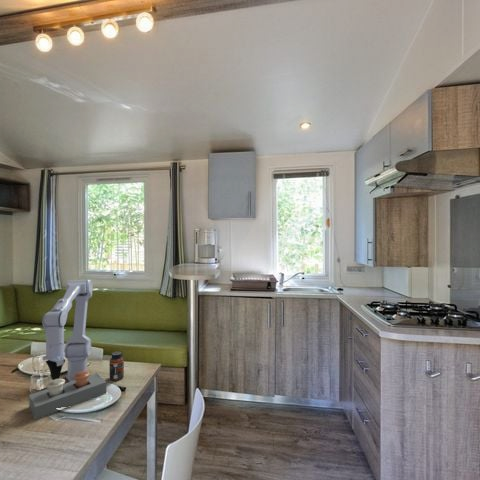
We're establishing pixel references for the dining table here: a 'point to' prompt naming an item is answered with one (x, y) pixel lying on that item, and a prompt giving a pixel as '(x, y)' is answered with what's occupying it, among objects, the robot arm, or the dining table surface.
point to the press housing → (66, 396)
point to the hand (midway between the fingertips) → (55, 378)
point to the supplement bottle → (116, 366)
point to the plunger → (55, 387)
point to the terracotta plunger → (81, 378)
